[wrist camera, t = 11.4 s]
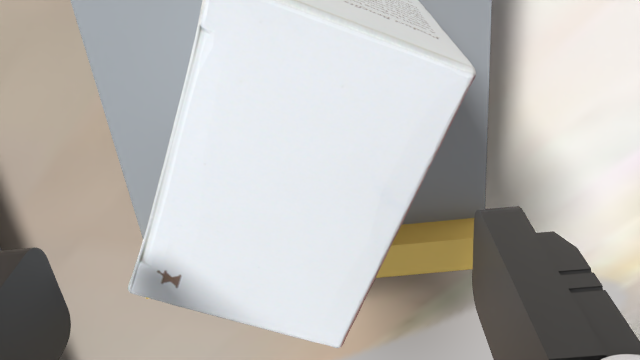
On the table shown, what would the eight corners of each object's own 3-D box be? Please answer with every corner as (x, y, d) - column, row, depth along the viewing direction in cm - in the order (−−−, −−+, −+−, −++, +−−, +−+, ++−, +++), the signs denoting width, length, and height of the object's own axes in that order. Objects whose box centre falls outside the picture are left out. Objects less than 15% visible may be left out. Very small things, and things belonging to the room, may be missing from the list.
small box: (331, 170, 24) (340, 359, 15) (199, 127, 23) (121, 302, 14) (410, -20, 20) (488, 72, 11) (258, -79, 19) (206, -32, 10)
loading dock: (64, -174, 22) (-9, -186, 17) (468, -226, 21) (514, -254, 16) (173, 229, 30) (146, 298, 25) (463, 201, 29) (492, 267, 25)
